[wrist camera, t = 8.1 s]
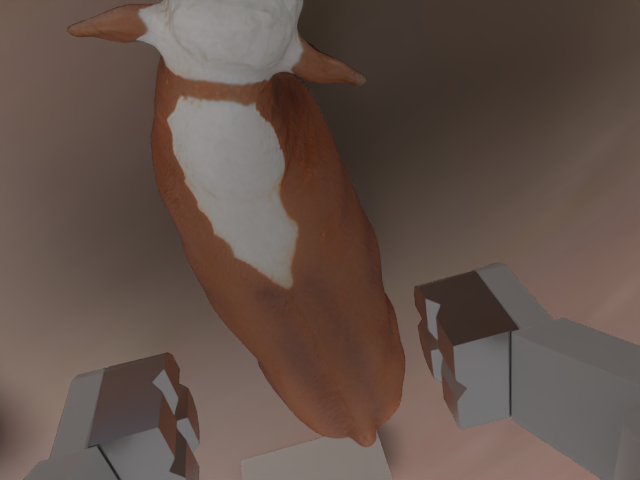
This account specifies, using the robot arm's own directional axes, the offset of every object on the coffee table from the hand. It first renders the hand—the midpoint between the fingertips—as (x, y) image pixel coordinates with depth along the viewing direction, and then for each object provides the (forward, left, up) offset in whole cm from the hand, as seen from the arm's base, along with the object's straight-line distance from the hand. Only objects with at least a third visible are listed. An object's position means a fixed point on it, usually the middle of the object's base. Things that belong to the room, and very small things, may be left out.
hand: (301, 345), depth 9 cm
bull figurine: (0, 0, -9) cm, 9 cm away
